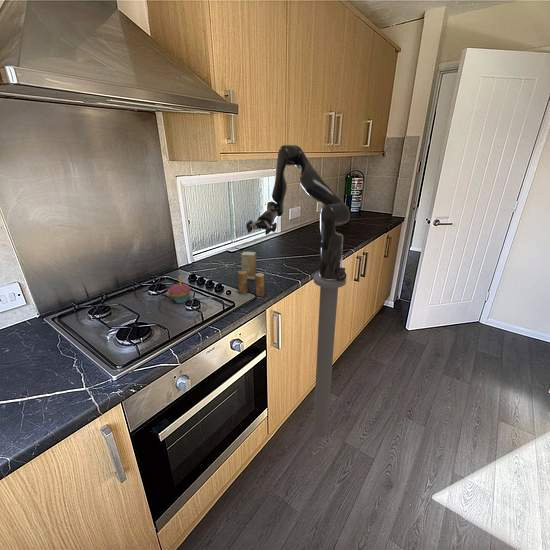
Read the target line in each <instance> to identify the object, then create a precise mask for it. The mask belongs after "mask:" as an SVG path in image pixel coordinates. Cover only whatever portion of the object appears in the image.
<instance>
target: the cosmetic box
mask: <svg viewBox="0 0 550 550" xmlns="http://www.w3.org/2000/svg"><path fill="white" fill-rule="evenodd" d="M240 257H241V258H240V260H241V271H246V272H247V280H255V274H257V252H255V251H242V252H241V254H240Z"/></svg>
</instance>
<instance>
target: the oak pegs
mask: <svg viewBox="0 0 550 550" xmlns="http://www.w3.org/2000/svg"><path fill="white" fill-rule="evenodd" d="M237 280H238V292H239V293H240V294H246V293H248V292H249V291H248V290H249V289H248V279H247V272H246V271H242V270H238V271H237ZM254 280H255V295H256V297H264V296H265V294H266V290H265V287H266V286H265V274H264V273H263V272H256V274H255V279H254Z"/></svg>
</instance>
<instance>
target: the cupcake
mask: <svg viewBox="0 0 550 550" xmlns="http://www.w3.org/2000/svg"><path fill="white" fill-rule="evenodd" d="M178 278H179V279H178V280H179V283H178V282H177V283H174V284H173V285H171V286H169V288H168V290H167V293H168V295H169V296H170V297H171V298H173V299H174V302H175V303H177V304H184V303H186V302H187V301H188V300H189V296H190V293H191V291H192V289H191V287H190V285H188V283H187V284H186V283H182V276H181V275H179V276H178Z"/></svg>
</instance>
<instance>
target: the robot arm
mask: <svg viewBox="0 0 550 550" xmlns="http://www.w3.org/2000/svg"><path fill="white" fill-rule="evenodd" d="M277 156H278V158H276V166H275V168H276V169H275V178H274V179H275V180H274V184H273V188H272V193H271V200H269V201H267V203H266V204H265V208H264V211H263V212H262V213H261V214H260V215H259V217H258V218H257V220H256V221H253V220H252V219H250V220H249V221H248V222H247V223H246V231H247V233H248V234H250V233H251V232H252V231H253V230H255V231H257V230H265V232H264V233H265V235H266V236H267V235H269V234H270V233H271V232H272V233H275V232H276V230H277V229H278V228H277V227H278V223H277V222H275V221H276V219H277V218H280V217H282V216H283V215H284V213H285V197H286V194H287V191H288V183H287V180H286V176H285V170H286V167H288V166H289V167H290V166H294V167H296V168H297V169H298V170H299V184H300V186H301V187H302V189H303V190H304V191H305V193H306V194H307V195H308V196H309V197H310V198H312V199H314V200H316V201H317V202H320V203H321V204H323V206H322V208H321V209H320V216H319V229H320V230H319V231H320V237H321V241H320V242H321V245H320V261H319V262H320V263H319V272H320V278H321V279H323V280H326V281H339V279H340V277H343V276H344V275H345V276H344V277H343V278H342V279H341V280H344V279H345V278H346V279H347V273H346V267H343V260H344V259H343V249H344V245H343V244H344V234H343V233H340V232H337V231H336V227H337V226H341V225H342V226H343V225H345V224H347V223H348V222H349V221H350V219H351V218H350V217H351V213H350V209H349V207H348V205H347V204H346V203H345V202H344V201H343V200H342V199H341V198H340V197H339V195H337V194H336V193H335V192H334V191H333V190H332V188H330V186H329V185H328V184H327V182H325V180H324V179H323V177H322V176H321V175H320V174H319V172H318V171H317V170H316V169H315V167H314V166H313V165H312V163H311V162H310V161H309V159H308V157H307V155H306V153H304V150H303V149H302V148H301V147H300V146H299V145H296V144H283V145H281V146H280V147H279V148H278V152H277Z"/></svg>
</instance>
